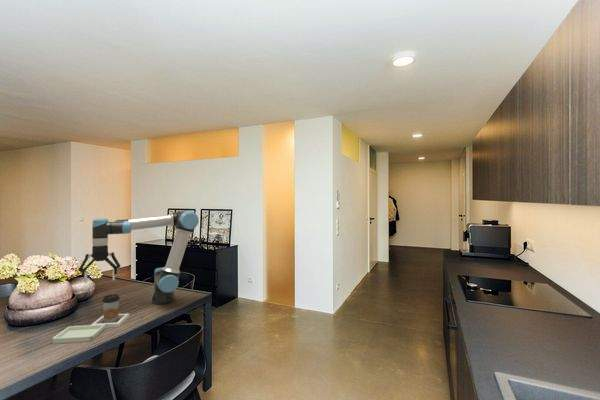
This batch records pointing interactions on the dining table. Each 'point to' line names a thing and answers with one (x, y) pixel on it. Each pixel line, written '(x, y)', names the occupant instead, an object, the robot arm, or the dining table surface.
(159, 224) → the robot arm
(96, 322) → the frame
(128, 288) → the dining table surface
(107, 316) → the coffee cup
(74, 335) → the tray
